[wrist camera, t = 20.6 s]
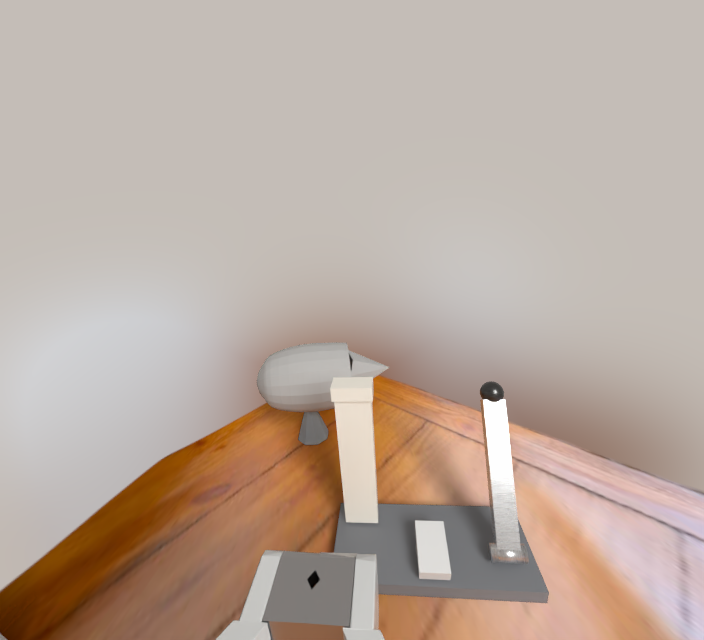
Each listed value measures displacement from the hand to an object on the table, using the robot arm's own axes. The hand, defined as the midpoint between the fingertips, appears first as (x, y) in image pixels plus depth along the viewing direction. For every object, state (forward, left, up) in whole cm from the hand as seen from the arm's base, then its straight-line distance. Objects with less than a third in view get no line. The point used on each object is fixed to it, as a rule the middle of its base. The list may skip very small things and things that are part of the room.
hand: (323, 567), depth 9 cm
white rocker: (-6, +21, -27) cm, 35 cm away
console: (-7, +23, -30) cm, 38 cm away
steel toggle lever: (+1, +25, -27) cm, 37 cm away
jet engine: (-31, +33, -30) cm, 54 cm away
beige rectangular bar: (-15, +21, -28) cm, 38 cm away
